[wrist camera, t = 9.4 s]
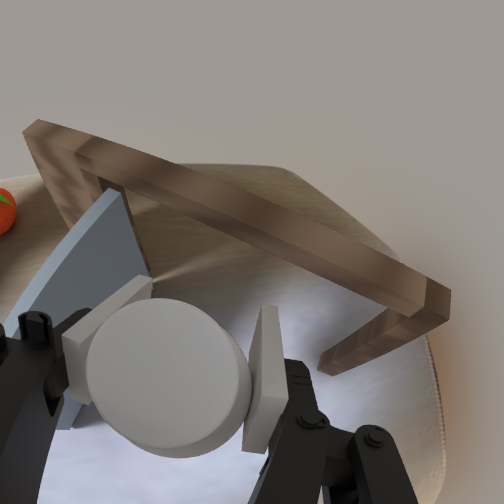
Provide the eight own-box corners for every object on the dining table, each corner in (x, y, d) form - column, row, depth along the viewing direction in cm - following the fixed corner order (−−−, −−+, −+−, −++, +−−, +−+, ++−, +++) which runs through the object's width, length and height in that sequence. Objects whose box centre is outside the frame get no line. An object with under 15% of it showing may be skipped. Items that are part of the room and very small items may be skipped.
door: (139, 279, 31) (100, 183, 18) (161, 291, 30) (130, 197, 18) (55, 417, 21) (-44, 399, 8) (75, 434, 20) (-21, 432, 8)
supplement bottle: (129, 366, 15) (45, 305, 6) (212, 336, 16) (216, 247, 8) (164, 451, 12) (105, 495, 4) (252, 418, 14) (306, 425, 6)
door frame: (78, 244, 32) (22, 132, 17) (88, 233, 33) (38, 119, 18) (332, 376, 28) (449, 319, 13) (338, 359, 29) (450, 289, 14)
